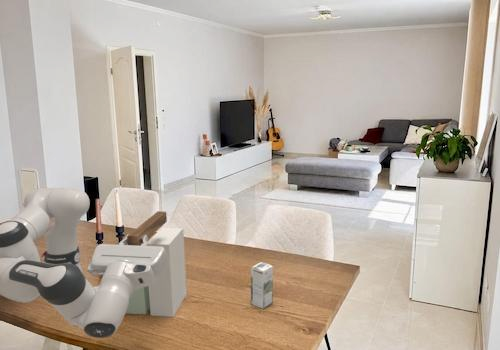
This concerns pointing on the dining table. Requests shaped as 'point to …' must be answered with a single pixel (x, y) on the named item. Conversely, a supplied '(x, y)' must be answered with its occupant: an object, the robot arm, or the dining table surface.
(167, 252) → the white stand
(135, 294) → the sage notched plate
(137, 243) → the walnut bar
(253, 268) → the syrup box
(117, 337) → the dining table surface
